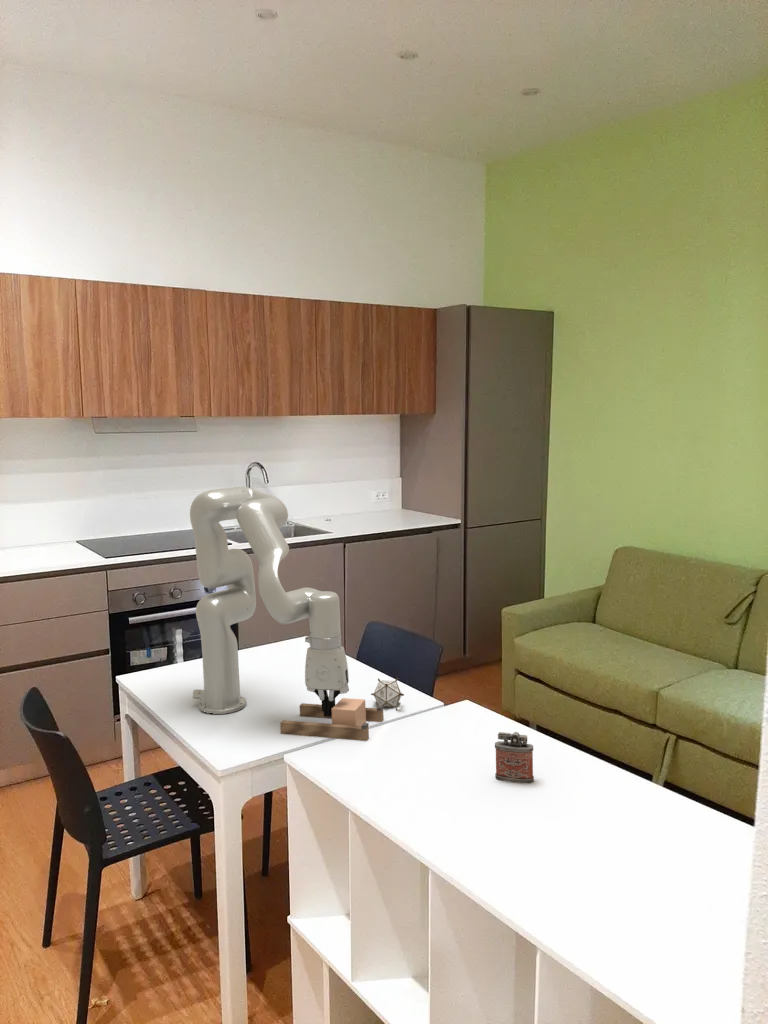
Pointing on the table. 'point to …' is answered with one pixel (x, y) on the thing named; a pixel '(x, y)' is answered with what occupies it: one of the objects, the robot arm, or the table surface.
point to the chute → (330, 729)
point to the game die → (387, 693)
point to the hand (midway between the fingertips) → (329, 714)
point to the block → (349, 712)
